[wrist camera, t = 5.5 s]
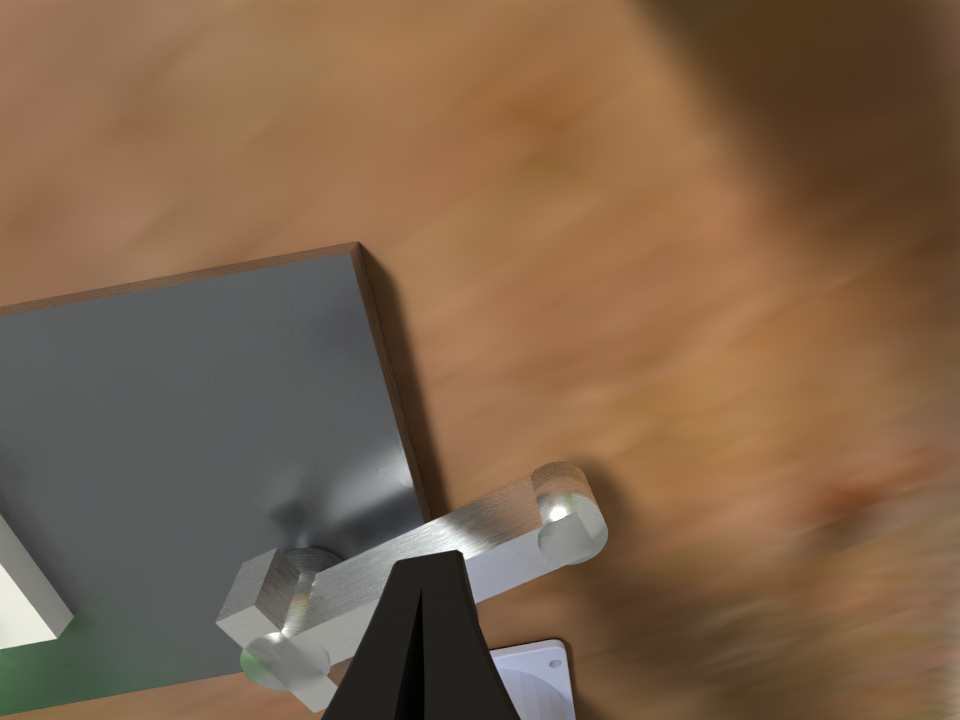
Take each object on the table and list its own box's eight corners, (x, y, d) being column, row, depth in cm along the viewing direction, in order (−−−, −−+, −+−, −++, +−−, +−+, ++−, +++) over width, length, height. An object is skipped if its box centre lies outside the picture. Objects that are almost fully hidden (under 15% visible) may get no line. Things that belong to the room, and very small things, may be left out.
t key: (319, 629, 17) (297, 720, 15) (238, 545, 16) (195, 631, 13) (601, 504, 16) (634, 579, 13) (547, 399, 14) (572, 459, 12)
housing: (453, 598, 20) (454, 633, 18) (-77, 695, 20) (-115, 737, 18) (358, 241, 14) (349, 252, 12) (-390, 378, 14) (-481, 405, 12)
